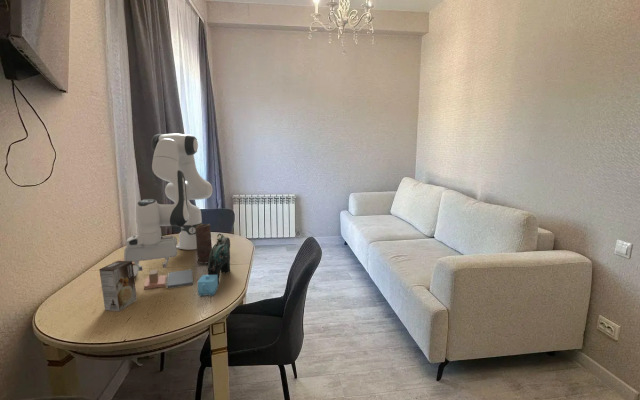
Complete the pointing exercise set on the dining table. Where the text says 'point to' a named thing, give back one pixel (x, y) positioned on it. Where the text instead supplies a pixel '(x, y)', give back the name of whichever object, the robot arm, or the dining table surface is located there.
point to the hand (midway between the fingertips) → (152, 268)
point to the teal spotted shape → (219, 257)
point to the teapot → (207, 285)
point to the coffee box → (118, 285)
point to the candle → (203, 242)
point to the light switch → (154, 280)
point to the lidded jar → (135, 268)
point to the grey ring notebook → (179, 279)
